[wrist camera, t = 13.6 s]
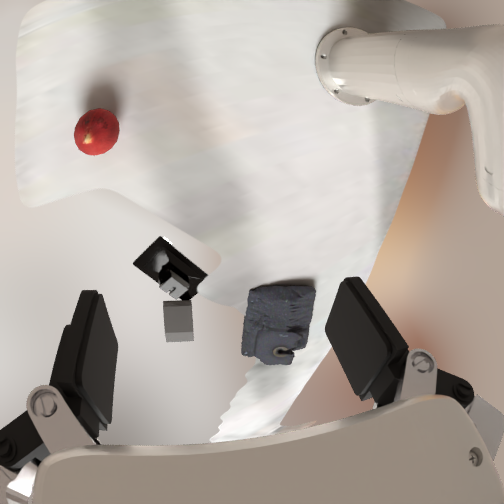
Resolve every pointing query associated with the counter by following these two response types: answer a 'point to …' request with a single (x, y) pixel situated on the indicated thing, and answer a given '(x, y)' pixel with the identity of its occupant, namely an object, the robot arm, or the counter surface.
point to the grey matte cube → (178, 321)
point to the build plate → (170, 269)
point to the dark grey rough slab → (277, 323)
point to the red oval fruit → (96, 132)
